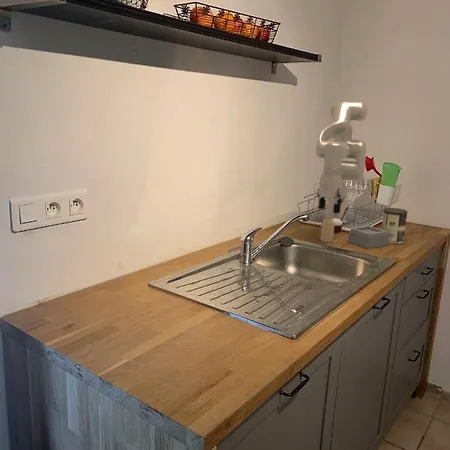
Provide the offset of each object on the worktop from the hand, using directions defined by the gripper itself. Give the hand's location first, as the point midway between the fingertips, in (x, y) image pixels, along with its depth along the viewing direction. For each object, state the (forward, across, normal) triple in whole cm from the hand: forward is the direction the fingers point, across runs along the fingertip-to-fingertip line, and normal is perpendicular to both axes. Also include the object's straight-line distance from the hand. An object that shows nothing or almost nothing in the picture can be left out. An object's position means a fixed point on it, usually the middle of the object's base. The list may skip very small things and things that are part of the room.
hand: (329, 210), depth 218 cm
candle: (+14, -1, +1) cm, 14 cm away
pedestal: (+14, +10, +15) cm, 23 cm away
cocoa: (+14, -12, +16) cm, 24 cm away
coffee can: (+14, +11, +29) cm, 34 cm away
